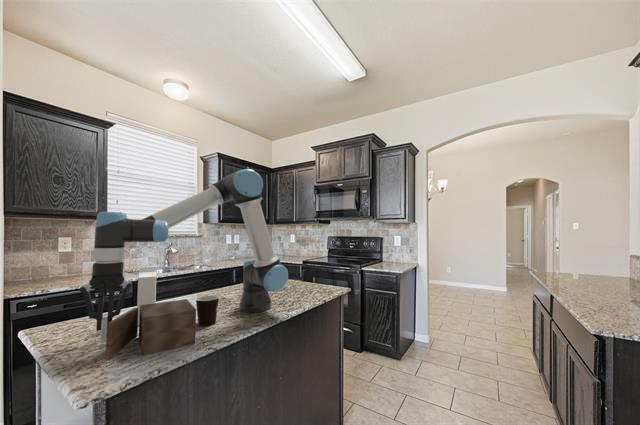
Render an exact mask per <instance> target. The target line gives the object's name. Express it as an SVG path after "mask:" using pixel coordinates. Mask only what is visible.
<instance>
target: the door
mask: <svg viewBox="0 0 640 425" xmlns="http://www.w3.org/2000/svg"><path fill="white" fill-rule="evenodd" d="M138 332H139V326H138V308H137V307H133V308H132V309H129V311H126V312H125V313H123V314H121V315H118V317H117V316H116V318H114V319H112V321H110V322H109V323H107V333H106V342H105V360H106V359H107V360H108V359H112V357H114V356H115V355H117V354H118V353H119V352H121V351H122V350H123V349H124V348H125V347H127V346H128V345H129V344H131V342H133V341H134V340H136V339H137V338H138Z"/></svg>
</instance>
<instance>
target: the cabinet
mask: <svg viewBox="0 0 640 425" xmlns="http://www.w3.org/2000/svg"><path fill="white" fill-rule="evenodd" d="M196 322H197V308H196V307H195V306H194V305H193V304H192V303H191V301H189V299H187V298H185V299H178V300H170V301H162V302H155V303H154V304H147V305H140V315H139V326H138V343H139V351H140V356H145V355H149V354H150V355H151V354H154V353H159V352H164V351H168V350H173V349H177V348H180V347H185V346H189V345H194V344H196V326H197V323H196Z"/></svg>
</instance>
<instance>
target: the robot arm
mask: <svg viewBox="0 0 640 425" xmlns="http://www.w3.org/2000/svg"><path fill="white" fill-rule="evenodd" d="M263 188H264V182H263V178H262V176H261V175H260V174H259V173H258V172H256V171H255V170H254V169H250V168H245V169H239V170H237V171H235V172H233V173H230V174H228V175H226V176H224V177H223V178H221V179H219V180H218V181H216V182H214V183H213V184H211V185H209V187H208V188H207V189H205V190H203V191H201V192H198V193H197V194H194V195H192V196H190V197H188V198H186V199H183V200H181V201H179V202H177V203H174V204H172V205H170V206H167V207H166V208H164V209H162V210H159V211H157V212H155V213H153V214H150V215H149V216H146V217H144V218H142V219H132V218H128V217H127V213H125V212H122V211H121V212H118V211H100V212H99V213H97V216H96V221H95V227H94V228H95V230H94V244H93V245H94V246H93V256H92V257H93V258H92V259H93V260H92V261H93V262H94V263H93V264H92V270H91V271H92V272H91V278H90V280H89V282H88V283H87V284H84V285H82V286H80V288H79V289H78V290H79V292H80V293H81V294H82V295H83V297H84V303H85V306H86V310H87V315H88V317H89V319H90V320H96V327H95V328H96V331H97V332H98V331H100V338H99V340H100V341H99V343H106V337H107V336H106V333H107V323H109V322H110V321H112V320H113V318H114V317H117V316H120V313H121V310H122V309H123V305H124V302H125V299H126V298H127V297H126V296H127V294H128V292H129V290H130V289H131V287H133V286H132V285H133V283H132V281H131V282H129V281H126V280H125V277H124V265H125V264H124V262H123V260H125V250H126V248H125V245H126V243H163V242H166V240H168V237H169V231H170V230H169V229H170V228H172V227H175V226H177V225H179V224H181V223H183V222H186V221H187V220H189V219H190V218H193V217H195V216H197V215H199V214H201V213H203V212H205V211H207V210H208V209H210V208H212V207H214V206H216V205H220V206H221V205H223V204H226V203H228V202H232V201H234V205H235V206H236V207H238V208H239V209H240V212H241V215H242V219H243V223H244V225H245V229H246V233H247V236H248V240H249V242H250V246H251V250H252V252H253V256H254V259H249V260H245V261H243V268H242V270H243V271H242V274H243V275H242V276H243V277H242V279H243V281H242V282H243V283H242V285H243V287H242V289H243V290H242V295H241V298H240V301H239V305H238V309H239V311H240V312H244V313H261V312H265V311H269V310H270V309H271V308H272V300H271V296H270V293H269V292H273V293H274V292H275V293H276V292H278V291H281V290H283V288H284V287H285V286H286V285H287V282H289V271H288V268H287V267H286V266H285V265H283V264H282V262H281V259H280V256H279V255H276V254H275V252H274V251H275V250H274V247H273V245H272V241H271V236H270V233H269V230H268V227H267V226H268V225H267V223H266V220H265V219H266V218H265V216H264V212H263V209H262V205H261V201H262V200H263V196H262V191H263ZM121 285H122V291H121V294H120V297H119V301H118V302H117V306H116V308H115V310H114V301H115V292H116V291H117V290H118V289H119V288H120V286H121ZM91 288H93V290H94V291H95V292H96V293H98V295H97V298H98V299H97V310H96V311H97V312H95V308H94V304H93V300H92V296H91V293H90V291H91ZM105 293H108V302H107V304H108V305H107V316H105V317H104V316H103V315H104V299H105Z"/></svg>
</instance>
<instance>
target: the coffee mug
mask: <svg viewBox="0 0 640 425" xmlns="http://www.w3.org/2000/svg"><path fill="white" fill-rule="evenodd" d="M219 300H220V296H219V295H204V296H200V297H196V298H195V304H196V316H197V323H198V326H200V327H209V326H212V325H215V324H216V322H217V315H218V308H219V302H220V301H219Z"/></svg>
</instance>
